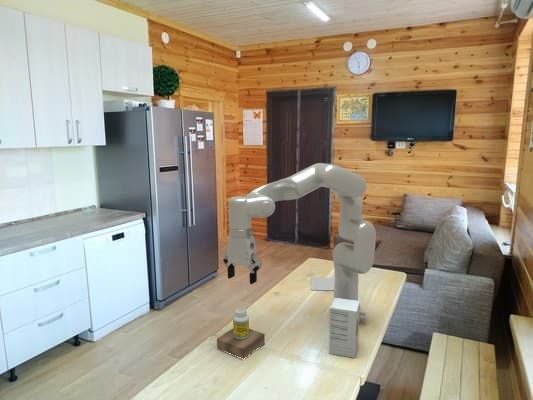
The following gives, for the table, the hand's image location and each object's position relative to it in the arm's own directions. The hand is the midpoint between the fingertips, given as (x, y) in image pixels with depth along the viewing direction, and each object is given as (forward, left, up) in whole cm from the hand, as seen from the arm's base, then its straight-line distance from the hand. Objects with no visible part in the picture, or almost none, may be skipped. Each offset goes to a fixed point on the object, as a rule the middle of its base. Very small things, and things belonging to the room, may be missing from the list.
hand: (242, 280), depth 134 cm
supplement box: (-31, -17, -25) cm, 43 cm away
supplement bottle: (0, +1, -21) cm, 21 cm away
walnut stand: (0, +2, -24) cm, 24 cm away
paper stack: (-5, -66, -25) cm, 71 cm away
